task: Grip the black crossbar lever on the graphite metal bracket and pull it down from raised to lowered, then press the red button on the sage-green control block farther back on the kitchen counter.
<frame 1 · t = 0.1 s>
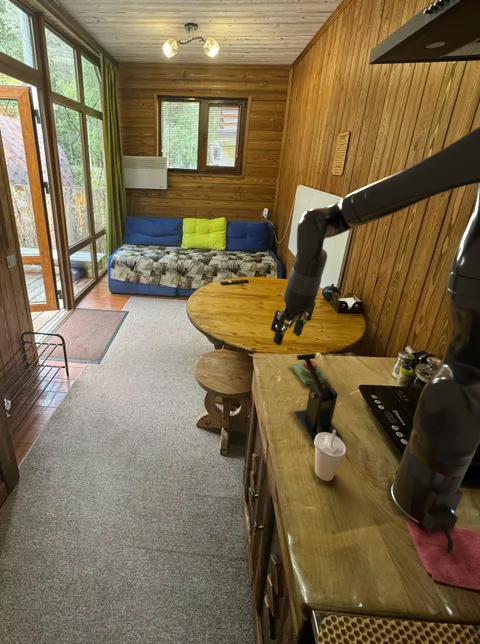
hand: (287, 338, 84), 22 cm above the kitchen counter, tool pointing down, fingers open, 8 cm apart
button: (310, 365, 102), point 4 cm above the kitchen counter, slide at 0.1 cm
lever: (314, 376, 84), point 13 cm above the kitchen counter, hinge at 25.0°
control block: (308, 376, 104), on the kitchen counter
smoothie: (323, 476, 71), on the kitchen counter
bracket: (316, 427, 84), on the kitchen counter
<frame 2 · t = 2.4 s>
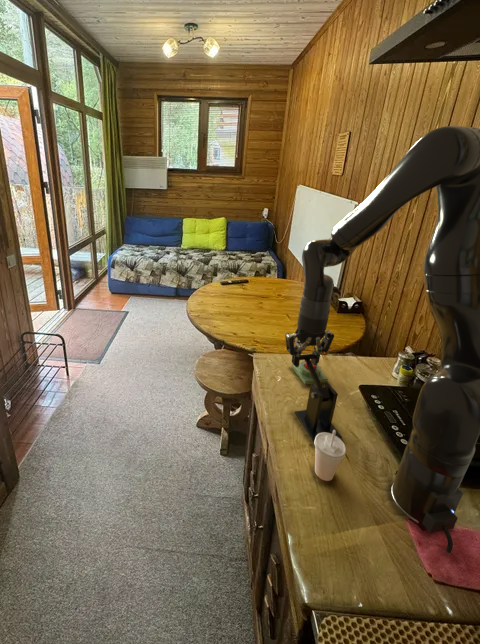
hand: (304, 364, 89), 13 cm above the kitchen counter, tool pointing down, fingers closed on lever, 5 cm apart
lever: (314, 376, 84), point 13 cm above the kitchen counter, hinge at 24.9°, touching gripper
everything else where it was.
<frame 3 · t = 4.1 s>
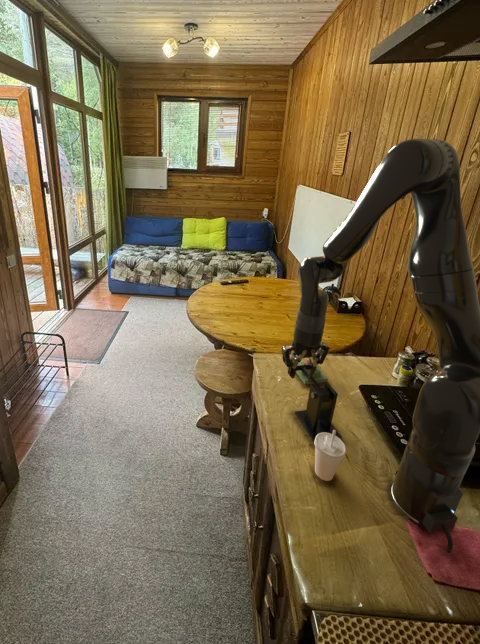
hand: (300, 375, 91), 8 cm above the kitchen counter, tool pointing down, fingers closed on lever, 5 cm apart
lever: (312, 381, 85), point 11 cm above the kitchen counter, hinge at 1.1°, touching gripper
everything else where it was.
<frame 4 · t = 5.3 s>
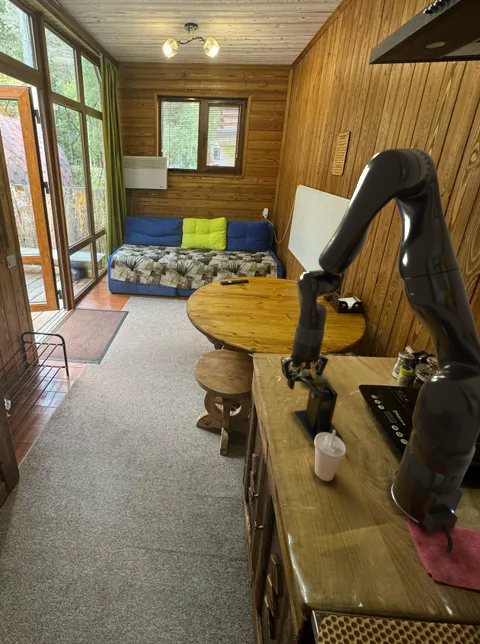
hand: (299, 386, 92), 5 cm above the kitchen counter, tool pointing down, fingers closed on lever, 5 cm apart
lever: (312, 386, 85), point 9 cm above the kitchen counter, hinge at -17.3°, touching gripper
everything else where it was.
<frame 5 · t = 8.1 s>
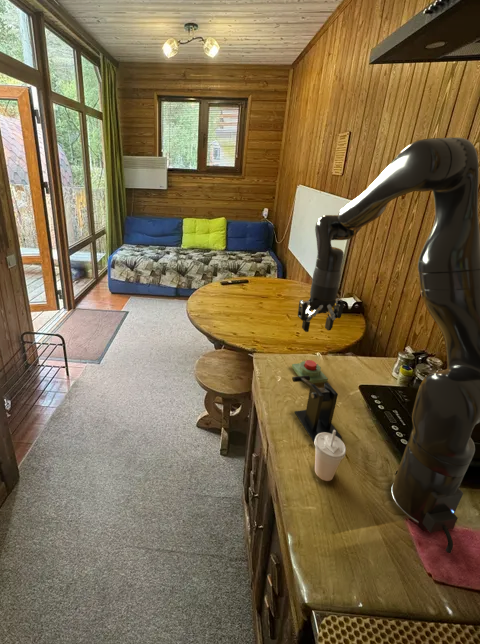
hand: (316, 329, 98), 18 cm above the kitchen counter, tool pointing down, fingers open, 7 cm apart
lever: (312, 386, 85), point 9 cm above the kitchen counter, hinge at -17.5°
everything else where it was.
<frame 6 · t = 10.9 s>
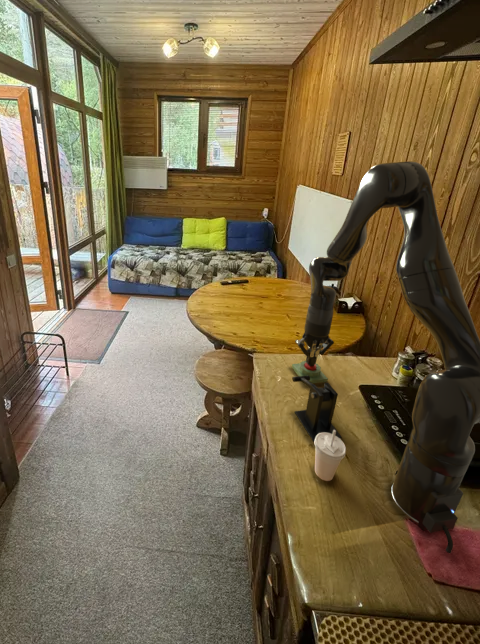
hand: (310, 364, 102), 5 cm above the kitchen counter, tool pointing down, fingers closed
button: (310, 367, 102), point 4 cm above the kitchen counter, slide at -0.5 cm, touching gripper
everything else where it was.
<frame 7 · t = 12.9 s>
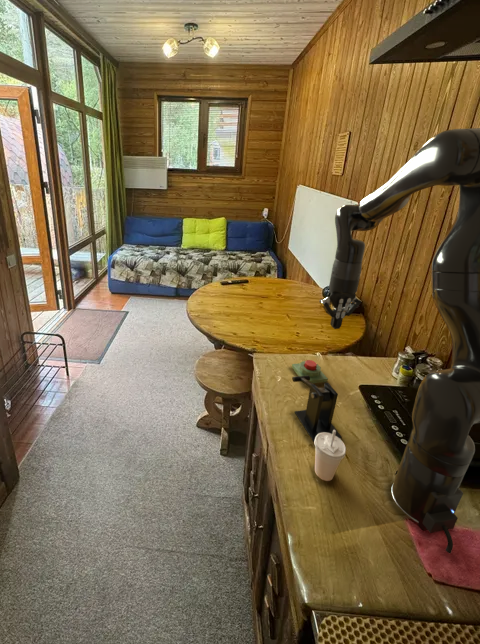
hand: (335, 327, 95), 20 cm above the kitchen counter, tool pointing down, fingers closed
button: (310, 365, 102), point 4 cm above the kitchen counter, slide at 0.1 cm
everything else where it was.
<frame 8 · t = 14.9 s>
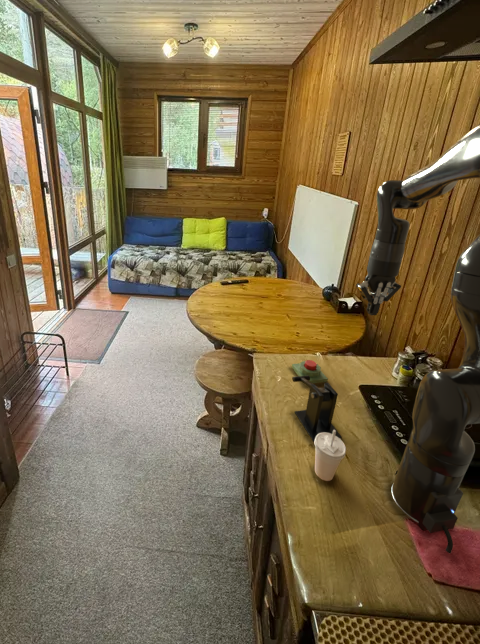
hand: (371, 314, 89), 27 cm above the kitchen counter, tool pointing down, fingers closed
nothing on the kitchen counter moved.
at the end: lever at -18° (first picture: +25°); button pushed in 1.1 cm at the most during the clip, back to where it started at the end; button slide at 0.1 cm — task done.
